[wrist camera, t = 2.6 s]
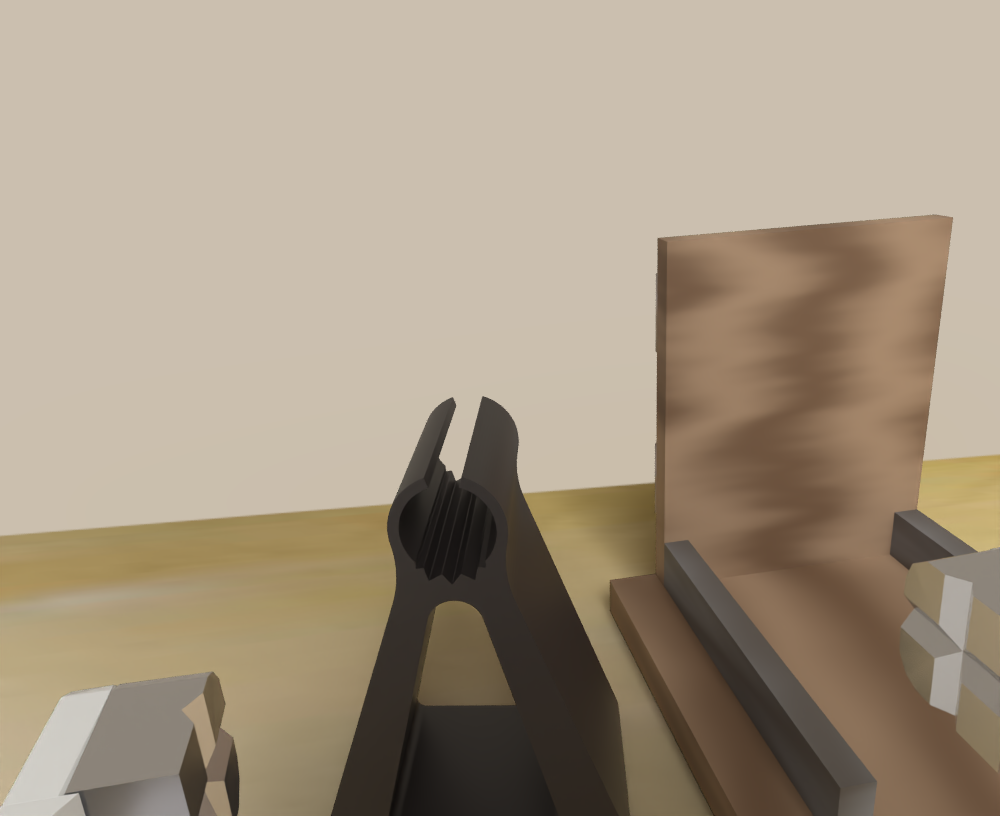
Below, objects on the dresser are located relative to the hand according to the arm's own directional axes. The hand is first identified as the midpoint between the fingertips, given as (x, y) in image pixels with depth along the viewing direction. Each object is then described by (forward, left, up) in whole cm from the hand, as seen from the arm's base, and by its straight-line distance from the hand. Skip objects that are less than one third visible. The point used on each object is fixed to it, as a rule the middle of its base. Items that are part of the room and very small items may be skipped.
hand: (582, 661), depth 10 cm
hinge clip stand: (+14, +14, -14) cm, 24 cm away
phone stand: (0, +13, -14) cm, 19 cm away
